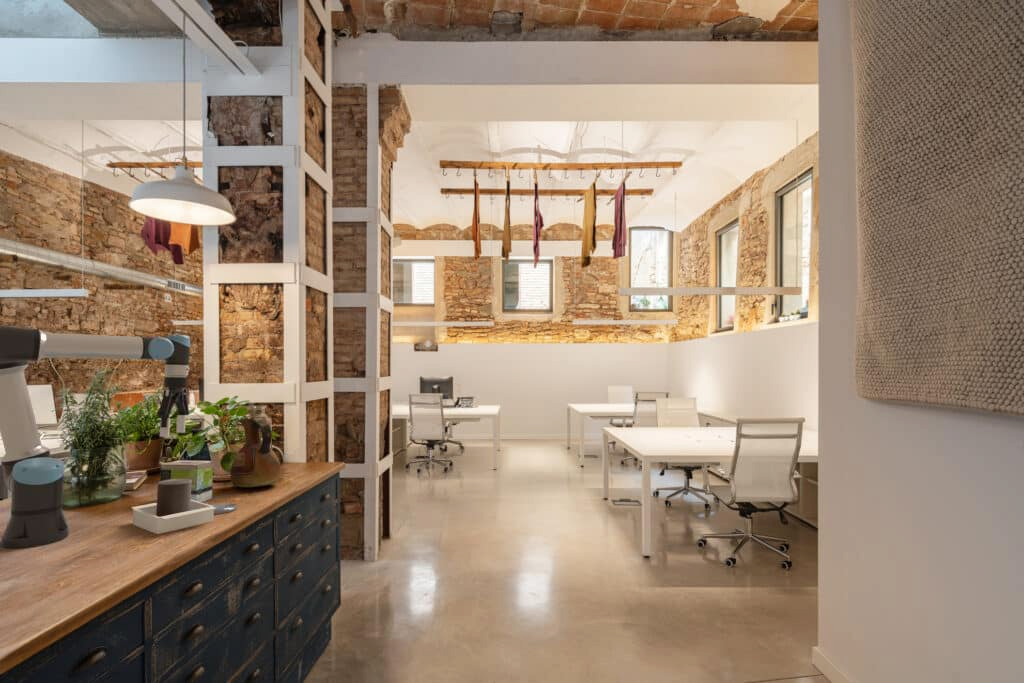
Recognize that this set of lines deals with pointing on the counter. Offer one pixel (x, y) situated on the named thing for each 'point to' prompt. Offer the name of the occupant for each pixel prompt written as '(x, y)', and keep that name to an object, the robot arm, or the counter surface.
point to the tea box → (191, 476)
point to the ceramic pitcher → (255, 457)
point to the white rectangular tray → (172, 517)
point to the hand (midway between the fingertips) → (172, 434)
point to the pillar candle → (173, 497)
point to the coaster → (224, 508)
